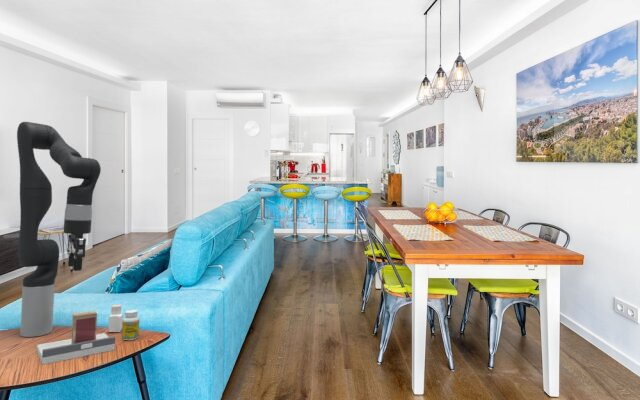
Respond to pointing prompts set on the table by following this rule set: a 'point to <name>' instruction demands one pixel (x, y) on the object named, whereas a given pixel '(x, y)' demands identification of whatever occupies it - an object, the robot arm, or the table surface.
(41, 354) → the shelf
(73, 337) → the tea box
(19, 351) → the table surface
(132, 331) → the supplement bottle
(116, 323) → the pepper shaker
